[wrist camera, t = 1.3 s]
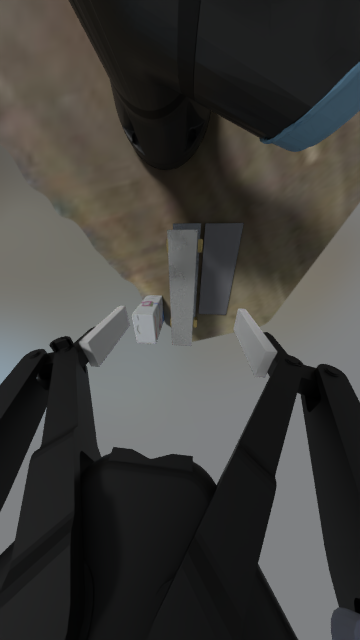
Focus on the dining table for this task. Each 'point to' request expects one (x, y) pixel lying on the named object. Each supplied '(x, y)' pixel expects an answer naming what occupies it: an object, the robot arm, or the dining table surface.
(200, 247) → the stand
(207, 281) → the mat
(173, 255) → the rail
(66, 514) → the robot arm
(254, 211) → the dining table surface
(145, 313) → the ink box
